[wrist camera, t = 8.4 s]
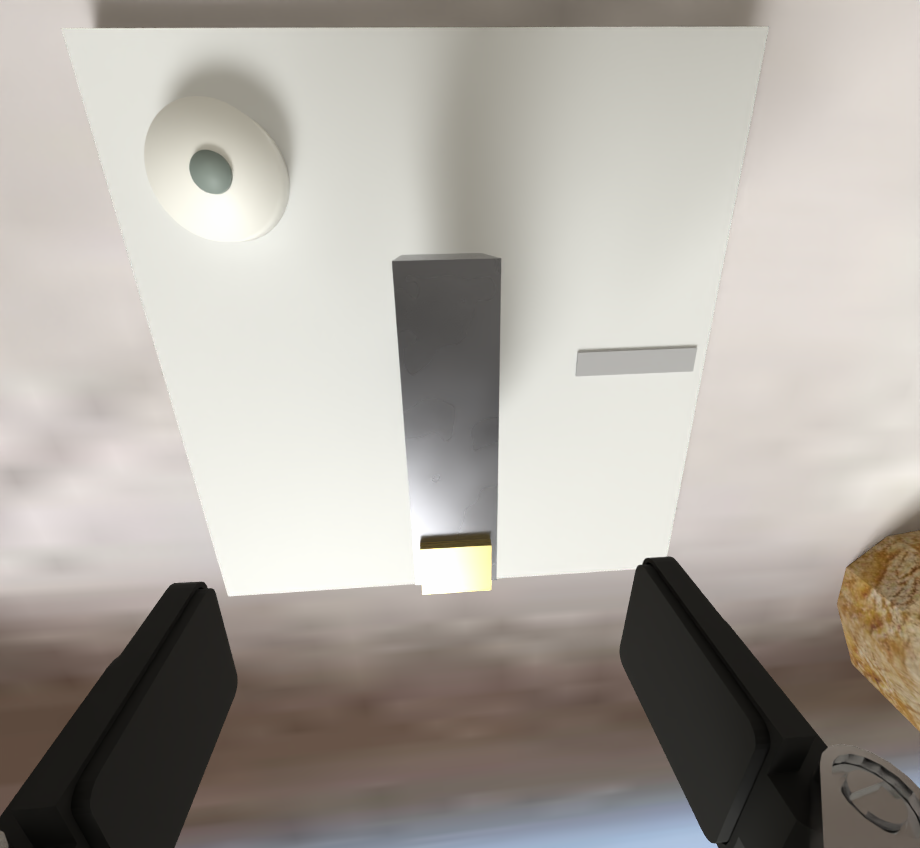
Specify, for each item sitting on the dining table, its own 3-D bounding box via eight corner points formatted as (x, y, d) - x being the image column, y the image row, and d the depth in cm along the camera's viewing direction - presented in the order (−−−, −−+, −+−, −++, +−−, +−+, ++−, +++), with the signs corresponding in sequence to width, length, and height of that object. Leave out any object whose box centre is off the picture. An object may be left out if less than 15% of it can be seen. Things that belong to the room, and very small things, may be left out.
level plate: (240, 574, 23) (215, 618, 20) (96, 48, 15) (21, 5, 12) (651, 548, 24) (678, 586, 22) (739, 44, 16) (802, 5, 13)
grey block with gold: (406, 251, 16) (390, 262, 9) (472, 250, 16) (503, 259, 9) (420, 472, 20) (415, 595, 13) (474, 470, 20) (497, 589, 13)
